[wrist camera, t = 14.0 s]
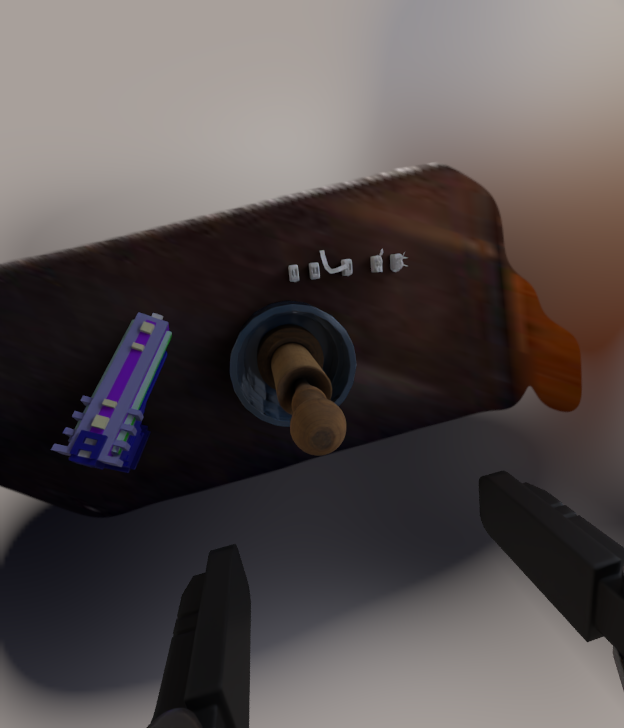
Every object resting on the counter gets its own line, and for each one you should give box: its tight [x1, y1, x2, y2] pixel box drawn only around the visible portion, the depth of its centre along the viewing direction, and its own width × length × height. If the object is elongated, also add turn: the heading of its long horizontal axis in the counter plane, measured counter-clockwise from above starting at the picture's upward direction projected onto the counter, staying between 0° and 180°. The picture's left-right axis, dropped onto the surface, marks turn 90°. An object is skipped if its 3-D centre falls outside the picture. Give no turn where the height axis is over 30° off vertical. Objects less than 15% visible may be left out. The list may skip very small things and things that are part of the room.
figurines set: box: [288, 249, 407, 282], centre depth 31 cm, size 12×3×3 cm, turn 96°
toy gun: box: [51, 312, 172, 473], centre depth 29 cm, size 4×13×10 cm
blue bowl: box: [229, 300, 356, 427], centre depth 31 cm, size 11×11×6 cm
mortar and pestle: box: [257, 324, 346, 455], centre depth 25 cm, size 7×6×18 cm
